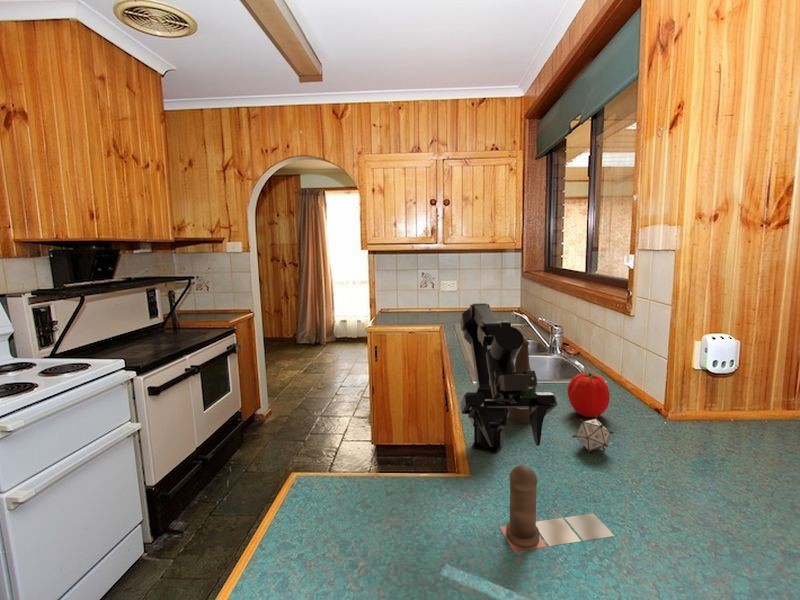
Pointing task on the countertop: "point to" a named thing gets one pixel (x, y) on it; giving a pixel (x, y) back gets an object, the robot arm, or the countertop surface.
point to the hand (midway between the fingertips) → (515, 445)
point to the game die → (592, 434)
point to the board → (567, 531)
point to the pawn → (523, 508)
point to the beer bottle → (523, 413)
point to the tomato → (588, 394)
